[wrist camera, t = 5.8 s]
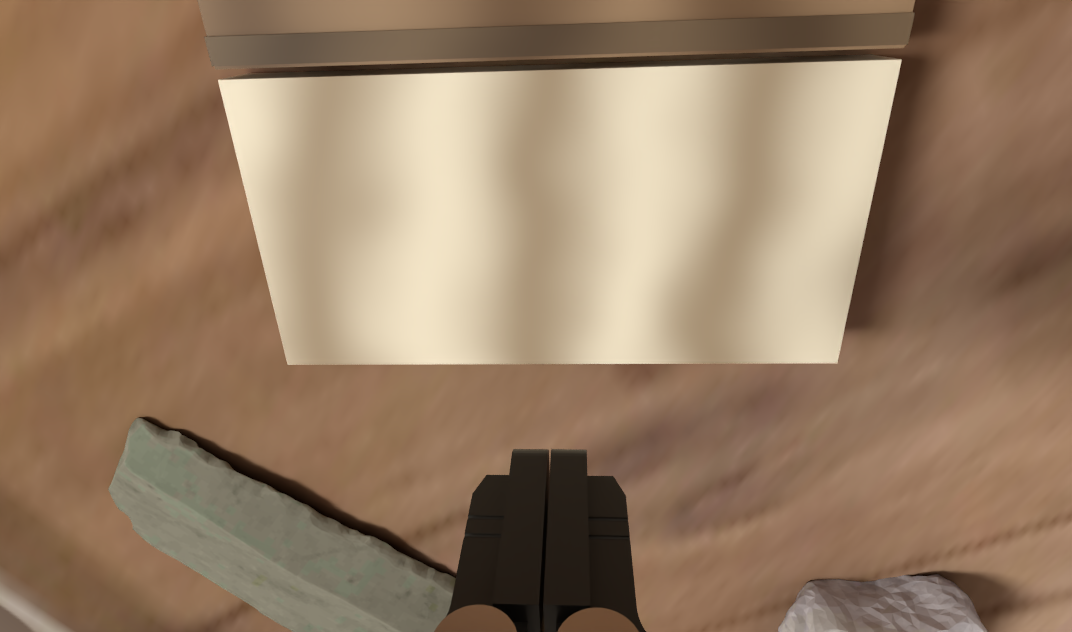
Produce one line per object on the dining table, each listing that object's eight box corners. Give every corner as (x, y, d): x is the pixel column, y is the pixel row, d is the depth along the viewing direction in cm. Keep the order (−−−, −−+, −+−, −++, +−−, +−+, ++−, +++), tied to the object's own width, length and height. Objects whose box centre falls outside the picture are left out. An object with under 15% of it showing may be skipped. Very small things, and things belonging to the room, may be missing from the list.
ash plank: (871, 54, 19) (902, 59, 18) (817, 336, 24) (837, 363, 22) (248, 73, 21) (218, 80, 19) (307, 338, 25) (287, 364, 23)
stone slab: (445, 673, 39) (545, 614, 33) (433, 722, 36) (538, 666, 31) (100, 492, 33) (157, 389, 28) (60, 537, 31) (114, 432, 26)
